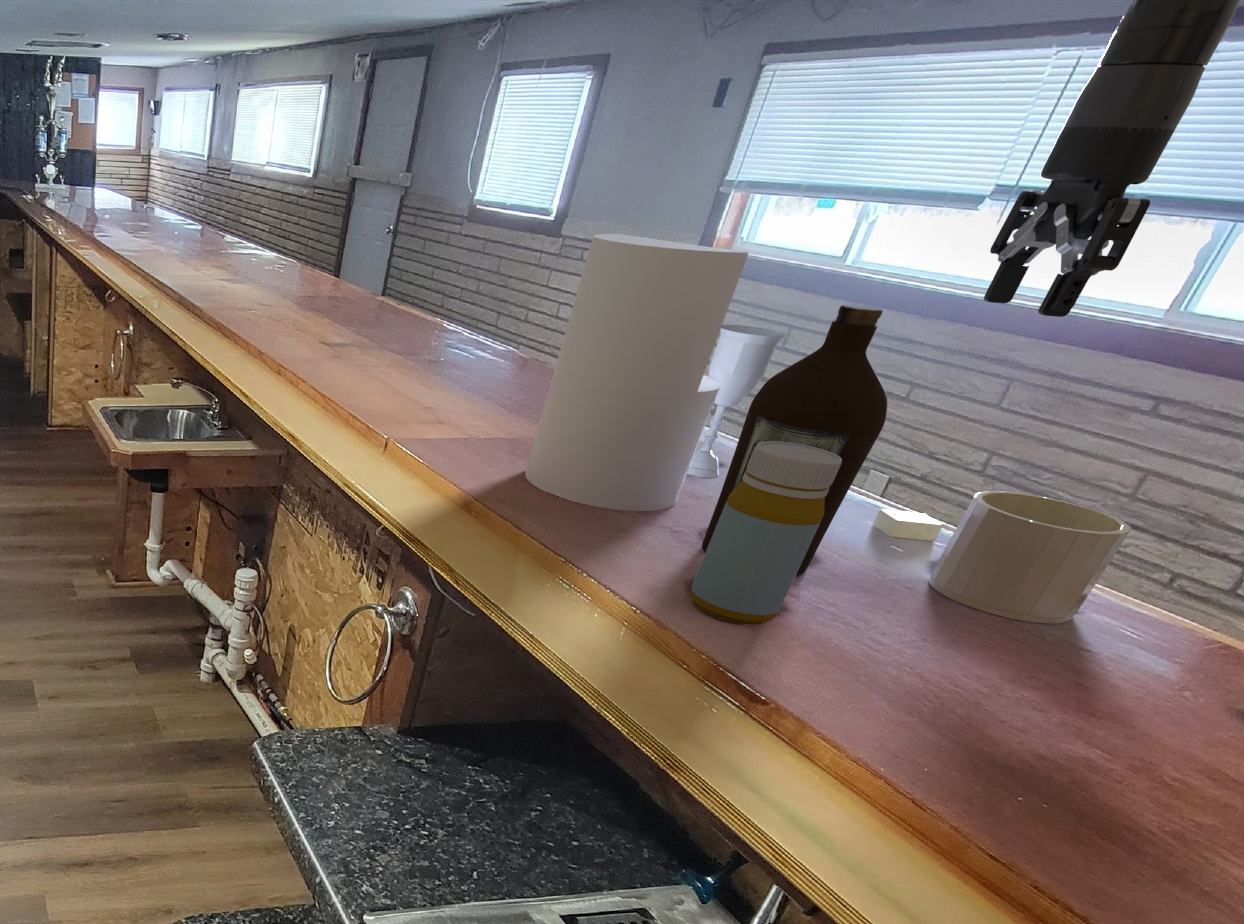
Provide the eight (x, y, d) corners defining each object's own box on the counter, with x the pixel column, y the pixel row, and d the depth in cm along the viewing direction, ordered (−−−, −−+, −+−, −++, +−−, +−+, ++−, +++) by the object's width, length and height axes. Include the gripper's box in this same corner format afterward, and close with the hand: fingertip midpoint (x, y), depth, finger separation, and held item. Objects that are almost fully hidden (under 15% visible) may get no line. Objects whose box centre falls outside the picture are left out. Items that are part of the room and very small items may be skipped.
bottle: (767, 602, 85) (838, 447, 78) (780, 634, 80) (858, 470, 72) (683, 586, 88) (744, 435, 80) (690, 616, 82) (757, 456, 75)
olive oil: (712, 531, 101) (809, 294, 89) (824, 562, 94) (945, 311, 82) (679, 555, 95) (778, 303, 82) (796, 590, 88) (923, 322, 76)
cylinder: (593, 516, 104) (682, 252, 90) (495, 467, 118) (559, 233, 104) (710, 505, 108) (812, 253, 94) (602, 460, 123) (677, 234, 109)
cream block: (916, 529, 104) (925, 513, 103) (934, 541, 101) (943, 524, 100) (871, 525, 105) (880, 508, 104) (888, 536, 102) (897, 520, 101)
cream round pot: (1024, 581, 92) (1075, 498, 88) (1102, 630, 83) (1163, 540, 79) (905, 568, 94) (949, 485, 90) (969, 614, 85) (1021, 525, 80)
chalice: (741, 479, 118) (800, 336, 109) (697, 481, 116) (753, 336, 107) (697, 461, 124) (750, 324, 115) (655, 463, 123) (705, 324, 114)
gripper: (1233, 126, 77) (1117, 324, 85) (1109, 127, 89) (1018, 301, 97) (1130, 121, 78) (1026, 317, 86) (1022, 123, 90) (939, 295, 98)
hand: (1022, 308), depth 92 cm, fingers open, 8 cm apart
